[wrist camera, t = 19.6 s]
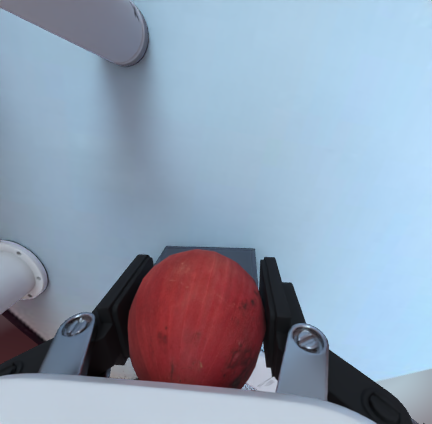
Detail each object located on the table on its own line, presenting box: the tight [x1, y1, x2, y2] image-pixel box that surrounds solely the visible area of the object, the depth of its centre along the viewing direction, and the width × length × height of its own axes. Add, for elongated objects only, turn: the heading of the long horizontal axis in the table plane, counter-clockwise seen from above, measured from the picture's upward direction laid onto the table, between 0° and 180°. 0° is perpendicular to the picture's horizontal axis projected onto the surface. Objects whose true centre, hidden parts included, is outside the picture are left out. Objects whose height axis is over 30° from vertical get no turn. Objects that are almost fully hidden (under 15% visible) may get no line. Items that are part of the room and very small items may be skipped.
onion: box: [128, 249, 266, 389], centre depth 9 cm, size 6×6×8 cm
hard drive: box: [246, 350, 278, 393], centre depth 42 cm, size 2×8×12 cm
